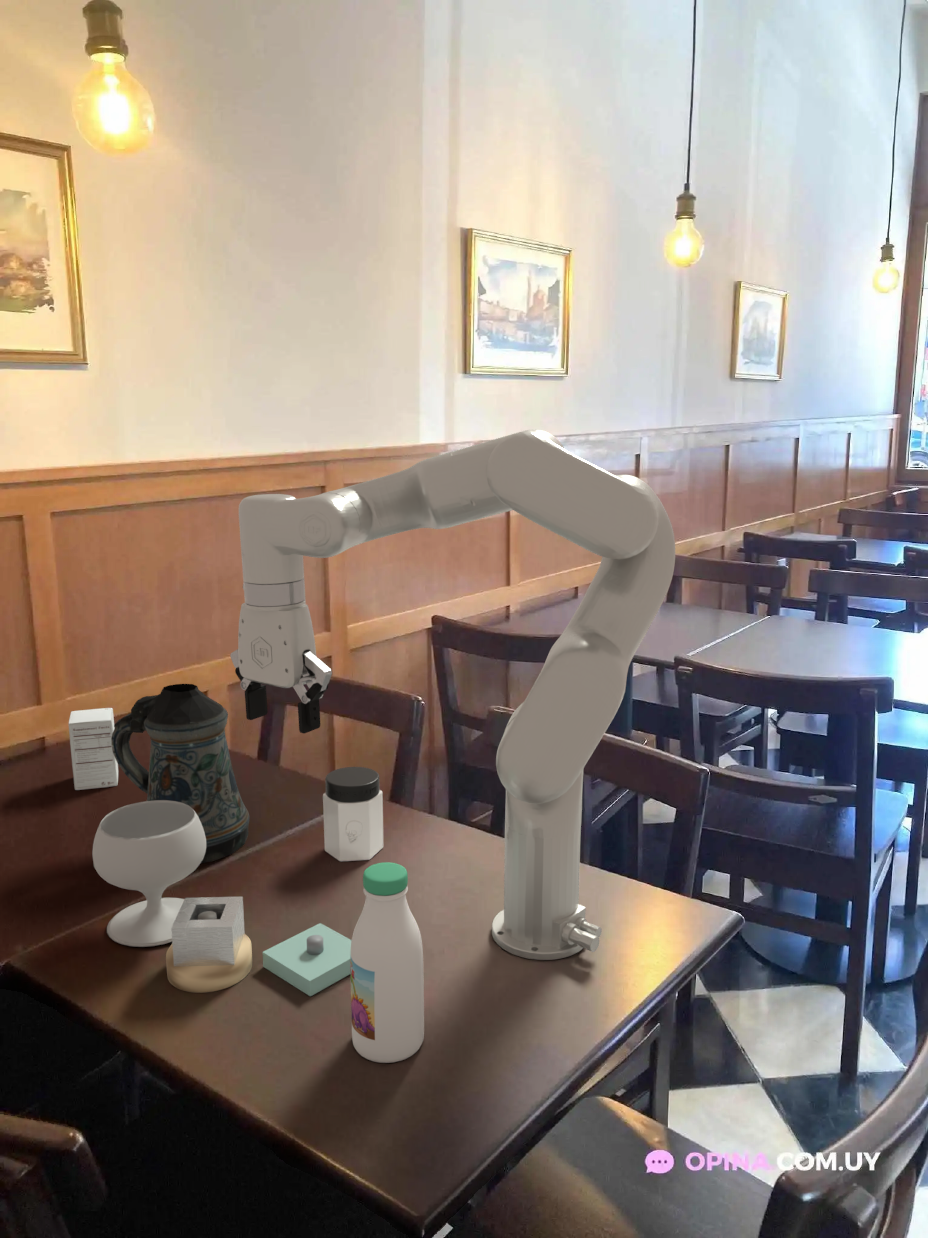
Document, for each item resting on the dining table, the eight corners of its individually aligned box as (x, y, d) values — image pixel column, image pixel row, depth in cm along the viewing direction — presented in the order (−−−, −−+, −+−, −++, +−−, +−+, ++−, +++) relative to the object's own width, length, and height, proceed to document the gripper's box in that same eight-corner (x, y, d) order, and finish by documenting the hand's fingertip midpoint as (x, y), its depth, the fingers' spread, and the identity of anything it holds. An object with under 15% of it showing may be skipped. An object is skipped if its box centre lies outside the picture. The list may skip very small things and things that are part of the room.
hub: (269, 966, 118) (266, 914, 116) (197, 1003, 111) (193, 948, 109) (221, 936, 124) (218, 886, 123) (151, 969, 117) (147, 917, 116)
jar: (324, 863, 144) (322, 788, 141) (324, 839, 152) (322, 767, 149) (384, 860, 145) (383, 785, 143) (382, 836, 153) (380, 765, 150)
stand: (368, 963, 118) (367, 937, 118) (310, 996, 112) (309, 969, 111) (320, 937, 124) (319, 912, 124) (263, 966, 118) (261, 940, 117)
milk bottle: (424, 1018, 108) (423, 853, 104) (423, 1064, 101) (422, 888, 96) (355, 1019, 108) (350, 854, 103) (349, 1066, 100) (344, 889, 96)
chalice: (83, 920, 128) (73, 815, 125) (183, 887, 137) (176, 788, 134) (123, 966, 118) (114, 853, 114) (229, 927, 127) (223, 821, 123)
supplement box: (76, 776, 178) (70, 710, 175) (119, 771, 180) (114, 706, 177) (73, 791, 171) (67, 723, 168) (118, 786, 173) (112, 719, 170)
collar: (234, 965, 114) (232, 926, 113) (174, 966, 113) (171, 927, 112) (244, 933, 121) (242, 896, 120) (187, 934, 120) (185, 897, 119)
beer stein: (258, 855, 147) (251, 697, 141) (123, 877, 140) (109, 712, 134) (241, 813, 162) (233, 668, 156) (118, 831, 155) (105, 681, 149)
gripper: (205, 592, 124) (216, 720, 127) (302, 606, 114) (310, 744, 117) (250, 582, 130) (259, 705, 133) (346, 595, 120) (352, 727, 123)
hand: (283, 723), depth 125 cm, fingers open, 9 cm apart
